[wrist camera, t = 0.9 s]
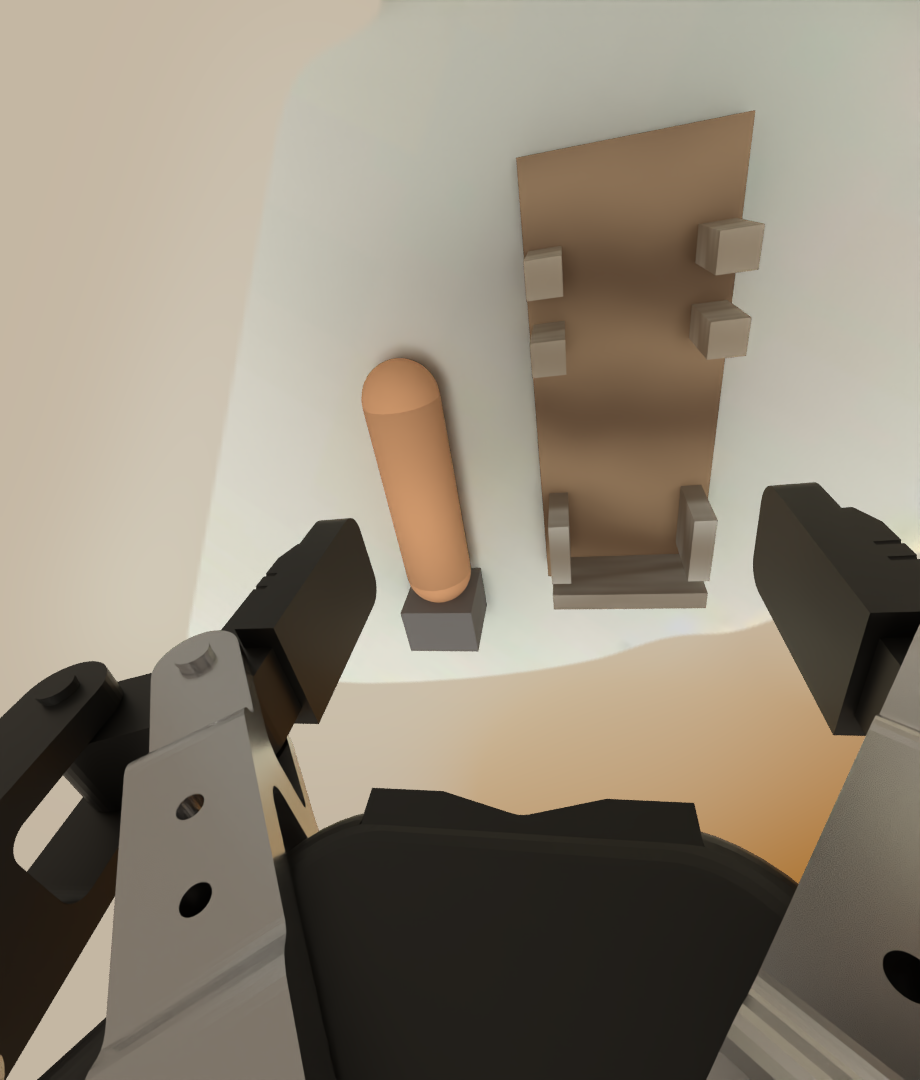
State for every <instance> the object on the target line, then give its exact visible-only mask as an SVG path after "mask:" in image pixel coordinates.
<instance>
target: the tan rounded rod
mask: <svg viewBox="0 0 920 1080" xmlns="http://www.w3.org/2000/svg"><path fill="white" fill-rule="evenodd" d="M362 406H363V411H364V415H365V419H366V422H367V426H368V430H369V434H370V437H371V441H372V445H373V449H374V453H375V456H376V460H377V464H378V468H379V471H380V475H381V479H382V483H383V487H384V490H385V494H386V498H387V502H388V506H389V509H390V513H391V517H392V521H393V524H394V528H395V532H396V536H397V540H398V543H399V547H400V551H401V555H402V558H403V562H404V566H405V570H406V574H407V577H408V580H409V583H410V585H411V587H410V590H409V593H408V595H407V598H406V601H405V603H404V606H403V609H402V611H401V616H402V620H403V623H404V627H405V630H406V634H407V637H408V641H409V644H410V648H411V651H478V650H479V644H480V639H481V633H482V628H483V622H484V617H485V611H486V606H487V604H486V598H485V592H484V586H483V580H482V574H481V568H471V566H470V560H469V554H468V549H467V543H466V537H465V532H464V526H463V521H462V515H461V509H460V504H459V498H458V492H457V487H456V481H455V476H454V470H453V464H452V459H451V453H450V447H449V442H448V436H447V431H446V425H445V419H444V414H443V408H442V403H441V397H440V392H439V389H438V385H437V383H436V381H435V379H434V377H433V376H432V374H431V373H430V372H429V371H428V370H427V369H426V368H425V367H424V366H422V365H421V364H419V363H417V362H415V361H412V360H409V359H404V358H395V359H390V360H387V361H385V362H383V363H380V364H379V365H378V366H376V367H375V368H374V369H373V370H372V371H371V372H370V374H369V375H368V376H367V378H366V380H365V382H364V385H363V389H362Z"/></svg>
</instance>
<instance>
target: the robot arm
mask: <svg viewBox="0 0 920 1080" xmlns="http://www.w3.org/2000/svg"><path fill="white" fill-rule="evenodd" d="M753 572H754V579H755V583H756V587H757V589H758V592H759V594H760V596H761V597H762V599H763V601H764V603H765V605H766V607H767V609H768V611H769V613H770V615H771V617H772V619H773V620H774V622H775V624H776V626H777V628H778V630H779V632H780V634H781V636H782V638H783V640H784V641H785V643H786V645H787V647H788V649H789V651H790V653H791V655H792V657H793V659H794V661H795V663H796V664H797V666H798V668H799V670H800V672H801V674H802V676H803V678H804V680H805V682H806V684H807V685H808V687H809V689H810V691H811V693H812V695H813V697H814V699H815V701H816V703H817V705H818V707H819V708H820V710H821V712H822V714H823V716H824V718H825V720H826V722H827V724H828V726H829V728H830V730H831V731H832V733H833V735H854V736H855V735H856V736H866V737H865V739H864V741H863V744H862V746H861V748H860V751H859V753H858V755H857V757H856V759H855V761H854V763H853V766H852V768H851V770H850V772H849V774H848V777H847V779H846V781H845V783H844V785H843V788H842V790H841V792H840V794H839V796H838V799H837V801H836V803H835V805H834V807H833V810H832V812H831V814H830V816H829V818H828V821H827V823H826V825H825V827H824V829H823V832H822V834H821V836H820V839H819V841H818V843H817V845H816V847H815V849H814V851H813V854H812V856H811V858H810V860H809V863H808V865H807V867H806V869H805V871H804V874H803V876H802V878H801V880H800V882H799V884H798V883H797V882H795V881H794V880H793V879H792V878H790V877H789V876H788V875H786V874H785V873H783V872H782V871H780V870H779V869H777V868H775V867H774V866H773V865H771V864H770V863H768V862H767V861H765V860H764V859H762V858H760V857H758V856H756V855H754V854H753V853H751V852H749V851H747V850H745V849H743V848H741V847H739V846H737V845H735V844H733V843H730V842H728V841H725V840H723V839H721V838H718V837H716V836H713V835H710V834H706V833H703V832H701V831H700V827H699V823H698V818H697V814H696V810H695V805H694V803H682V802H660V801H639V800H618V799H617V800H616V799H604V800H599V801H594V802H589V803H584V804H579V805H574V806H570V807H564V808H560V809H554V810H549V811H545V812H540V813H535V814H530V815H516V814H512V813H509V812H506V811H502V810H500V809H496V808H493V807H490V806H487V805H484V804H481V803H478V802H475V801H472V800H468V799H465V798H462V797H459V796H456V795H453V794H450V793H447V792H444V791H427V790H406V789H384V788H372V790H371V793H370V797H369V800H368V803H367V806H366V809H365V812H364V814H360V815H356V816H353V817H350V818H347V819H344V820H342V821H339V822H337V823H335V824H333V825H330V826H328V827H326V828H324V829H322V830H320V831H319V829H318V826H317V824H316V821H315V817H314V814H313V811H312V807H311V804H310V800H309V797H308V794H307V791H306V787H305V783H304V780H303V777H302V773H301V770H300V767H299V763H298V760H297V756H296V753H295V749H294V746H293V744H292V741H291V740H290V738H289V736H288V734H289V732H290V730H291V728H292V726H293V724H294V723H300V724H301V723H302V724H304V723H305V724H319V722H320V720H321V718H322V715H323V714H324V712H325V709H326V707H327V705H328V703H329V701H330V698H331V696H332V694H333V691H334V690H335V687H336V686H337V683H338V681H339V679H340V677H341V675H342V673H343V670H344V668H345V666H346V664H347V662H348V660H349V658H350V655H351V653H352V651H353V649H354V647H355V645H356V642H357V640H358V638H359V636H360V634H361V632H362V629H363V627H364V625H365V623H366V621H367V619H368V616H369V614H370V612H371V610H372V608H373V606H374V603H375V599H376V580H375V576H374V572H373V569H372V566H371V563H370V560H369V557H368V553H367V550H366V547H365V544H364V541H363V538H362V535H361V531H360V529H359V526H358V524H357V522H356V521H355V520H354V519H352V518H347V519H334V520H321V521H318V522H316V523H315V525H314V526H313V527H312V528H311V530H310V531H309V532H308V534H307V535H306V536H305V538H304V539H303V540H302V541H301V543H300V544H297V545H296V546H295V547H293V548H292V549H290V550H289V551H288V552H286V553H285V554H284V555H282V556H281V557H279V558H278V559H277V561H276V562H275V563H274V564H273V566H272V567H271V568H270V569H269V571H268V572H267V573H266V577H263V578H262V579H261V581H260V582H259V583H258V584H257V586H256V589H254V590H253V591H252V592H251V593H250V595H249V596H248V597H247V598H246V600H245V601H244V602H243V603H242V605H241V606H240V607H239V608H238V610H237V611H236V612H235V613H234V615H233V616H232V617H231V618H230V620H229V621H228V622H227V623H226V625H225V626H224V627H223V628H222V630H218V631H210V632H205V633H202V634H199V635H196V636H193V637H191V638H189V639H187V640H185V641H183V642H182V643H180V644H178V645H177V646H175V647H174V648H172V649H171V650H170V651H169V652H167V653H166V654H165V655H164V656H163V657H162V658H161V659H160V661H159V662H158V663H157V664H156V666H155V668H154V670H153V672H152V673H150V674H146V675H142V676H138V677H135V678H130V679H126V680H123V681H119V682H117V681H116V680H115V678H114V677H113V676H112V674H111V673H110V671H109V670H108V669H107V668H106V666H105V665H104V664H103V663H101V662H95V661H91V662H83V663H79V664H76V665H72V666H70V667H67V668H65V669H62V670H60V671H58V672H56V673H54V674H52V675H51V676H49V677H47V678H46V679H44V680H43V681H41V682H40V683H38V684H37V685H36V686H34V687H33V688H32V689H30V690H29V691H28V692H27V693H26V694H25V695H24V696H23V697H22V698H21V699H20V700H19V701H18V702H17V703H16V704H15V705H14V706H12V707H11V708H10V709H9V710H8V711H7V712H6V713H5V714H4V715H3V717H1V718H0V1080H6V1078H7V1077H8V1075H9V1073H10V1071H11V1070H12V1068H13V1066H14V1065H15V1063H16V1061H17V1060H18V1058H19V1056H20V1054H21V1053H22V1051H23V1050H24V1048H25V1046H26V1045H27V1043H28V1041H29V1040H30V1038H31V1036H32V1034H33V1033H34V1031H35V1029H36V1028H37V1026H38V1024H39V1023H40V1021H41V1019H42V1018H43V1016H44V1014H45V1013H46V1011H47V1009H48V1008H49V1006H50V1004H51V1003H52V1001H53V999H54V997H55V996H56V994H57V992H58V991H59V989H60V987H61V986H62V984H63V982H64V981H65V979H66V977H67V976H68V974H69V972H70V971H71V969H72V967H73V965H74V964H75V962H76V961H77V959H78V957H79V955H80V954H81V952H82V950H83V949H84V947H85V945H86V944H87V942H88V940H89V939H90V937H91V935H92V934H93V932H94V930H95V929H96V927H97V925H98V923H99V922H100V920H101V918H102V917H103V915H104V913H105V912H106V910H107V908H108V907H109V905H110V903H111V902H112V900H113V898H114V897H115V906H114V920H113V933H112V947H111V961H110V974H109V988H108V1001H107V1016H106V1018H105V1019H104V1020H103V1021H101V1022H100V1023H99V1024H98V1025H97V1026H96V1027H95V1028H94V1029H93V1030H92V1031H90V1032H89V1033H88V1034H87V1035H86V1036H85V1037H84V1038H83V1039H82V1040H80V1041H79V1042H78V1043H77V1044H76V1045H75V1046H74V1047H73V1048H72V1049H71V1050H69V1051H68V1052H67V1053H66V1054H65V1055H64V1056H63V1057H62V1058H61V1059H60V1060H59V1061H57V1062H56V1063H55V1064H54V1065H53V1066H52V1067H51V1068H50V1069H49V1070H47V1071H46V1072H45V1073H44V1074H43V1075H42V1076H41V1077H40V1078H39V1079H37V1080H920V559H917V555H916V554H915V553H914V552H913V551H912V550H911V549H910V548H909V547H908V546H907V545H906V544H905V543H902V544H901V539H900V538H899V537H898V536H897V535H896V534H895V533H894V532H893V531H891V530H890V529H889V528H888V527H887V526H886V525H885V524H884V523H883V522H882V521H880V520H878V519H876V518H874V517H872V516H870V515H868V514H866V513H864V512H861V511H859V510H857V509H855V508H853V507H848V508H841V507H840V506H839V505H838V504H837V503H836V502H835V501H834V499H833V498H832V497H831V496H830V495H829V494H828V493H827V492H826V491H825V490H824V489H823V488H822V487H821V486H820V485H819V484H818V483H815V482H813V483H800V484H787V485H775V486H768V487H767V488H766V489H765V490H764V492H763V495H762V500H761V507H760V514H759V521H758V528H757V535H756V543H755V550H754V557H753ZM62 776H64V777H65V778H66V779H67V780H68V781H69V782H70V783H71V784H72V785H73V786H74V788H75V789H76V790H77V791H78V792H79V793H80V794H81V795H82V796H83V798H82V799H81V801H80V802H79V803H78V805H77V806H76V807H75V809H74V810H73V811H72V813H71V814H70V815H69V817H68V818H67V819H66V821H65V822H64V823H63V825H62V826H61V827H60V829H59V830H58V831H57V833H56V834H55V835H54V837H53V838H52V839H51V841H50V842H49V843H48V844H47V846H46V847H45V849H44V850H43V851H42V853H41V854H40V855H39V857H38V858H37V859H36V860H35V862H34V863H33V864H32V866H31V867H30V869H29V870H28V871H27V872H26V871H25V870H24V869H23V868H21V866H19V865H18V864H17V862H16V861H15V859H14V854H13V847H14V842H15V838H16V836H17V833H18V831H19V830H20V828H21V826H22V825H23V823H24V822H25V821H26V820H27V818H28V817H29V816H30V815H31V813H32V812H33V811H34V810H35V808H36V807H37V806H38V805H39V804H40V802H41V801H42V800H43V799H44V798H45V796H46V795H47V794H48V793H49V791H50V790H51V789H52V788H53V786H54V785H55V784H56V783H57V782H58V780H59V779H60V778H61V777H62Z"/></svg>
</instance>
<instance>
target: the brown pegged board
mask: <svg viewBox="0 0 920 1080" xmlns="http://www.w3.org/2000/svg"><path fill="white" fill-rule="evenodd" d="M754 117H755V110H754V111H749V112H744V113H739V114H734V115H729V116H724V117H719V118H714V119H709V120H704V121H699V122H694V123H689V124H684V125H679V126H674V127H669V128H664V129H659V130H654V131H649V132H644V133H639V134H634V135H629V136H624V137H619V138H614V139H609V140H604V141H599V142H594V143H589V144H583V145H578V146H573V147H568V148H563V149H558V150H553V151H548V152H543V153H538V154H533V155H528V156H523V157H518V158H516V160H517V173H518V186H519V199H520V212H521V225H522V238H523V251H524V261H523V263H524V276H525V289H526V302H527V303H528V316H529V329H530V354H531V366H532V378H533V381H534V394H535V407H536V420H537V433H538V446H539V459H540V472H541V485H542V499H543V512H544V525H545V538H546V551H547V564H548V576H552V584H553V602H554V609H653V608H706V602H707V594H708V593H707V590H706V587H705V584H704V582H703V581H709V580H710V573H711V565H712V558H713V551H714V544H715V536H716V529H717V522H718V520H717V518H716V516H715V514H714V511H713V509H712V507H711V505H710V503H709V501H708V493H709V484H710V476H711V468H712V460H713V452H714V444H715V435H716V427H717V419H718V411H719V403H720V394H721V386H722V378H723V370H724V362H725V358H729V357H739V356H746V352H747V345H748V338H749V331H750V324H751V317H750V316H749V315H748V314H746V313H745V312H743V311H742V310H740V309H739V308H738V307H736V306H735V305H733V304H732V296H733V288H734V280H735V273H737V272H744V271H751V270H758V269H759V262H760V255H761V248H762V241H763V234H764V227H765V224H763V223H758V222H754V221H749V220H744V219H742V215H743V207H744V198H745V190H746V182H747V174H748V166H749V158H750V149H751V141H752V133H753V125H754Z"/></svg>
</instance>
